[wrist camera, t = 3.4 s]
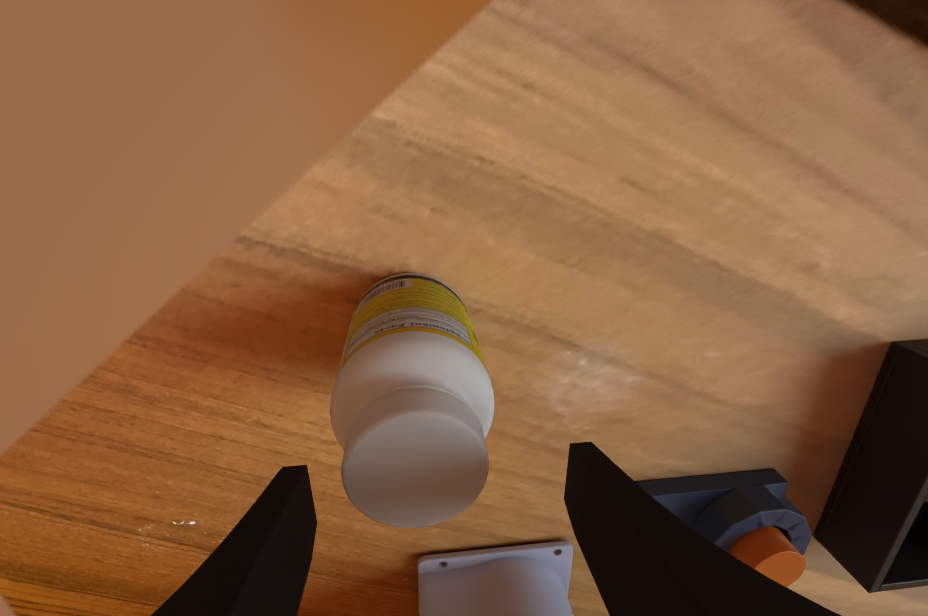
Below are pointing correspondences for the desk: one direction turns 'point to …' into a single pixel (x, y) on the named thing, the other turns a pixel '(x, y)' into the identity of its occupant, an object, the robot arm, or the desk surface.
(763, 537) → the button
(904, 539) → the rack
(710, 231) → the desk surface
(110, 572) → the desk surface
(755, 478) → the block
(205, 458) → the desk surface
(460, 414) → the supplement bottle
